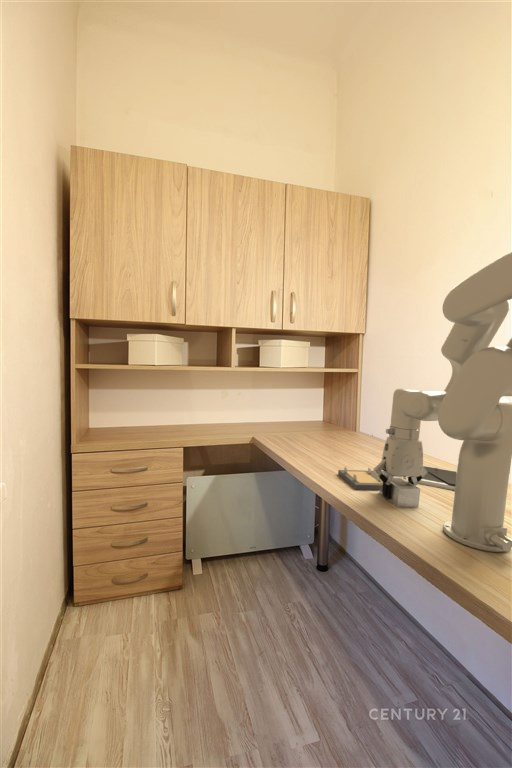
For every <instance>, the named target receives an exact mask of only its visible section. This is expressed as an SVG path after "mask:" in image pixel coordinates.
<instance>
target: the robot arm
mask: <svg viewBox="0 0 512 768" xmlns="http://www.w3.org/2000/svg"><path fill="white" fill-rule="evenodd" d="M510 300H512V251H511V252H509V253H507V254H504V255H503V256H501V257H499V258H498V259H496V260H494V261H492V262H491V263H489V264H488V265H486V266H484V267H483V268H481V269H479V270H478V271H476V272H474V273H473V274H471V275H470V276H468V277H466V278H465V279H464V280H462V281H461V282H459V283H458V284H457V285H455V286H454V287H453V288H452V289H451V290H450V291H449V293H447V295H446V297H445V298H444V300H443V303H442V314H443V316H444V318H446V320H447V321H450V322H451V323H454V324H453V325H452V328H451V329H450V331H449V332H448V333H449V334H448V335H447V337H446V338H445V341H444V342H443V345H442V346H441V349H440V352H441V354H442V356H444V358H446V359H447V360H448V361H449V362H450V365H451V369H452V370H451V371H452V372H451V377H450V379H449V381H448V383H447V385H446V386H445V388H444V390H443V391H439V390H438V391H437V390H436V391H434V390H432V391H431V390H428V391H427V390H421V391H420V390H418V389H411V388H397V389H395V390H394V392H393V396H392V403H391V405H392V407H391V417H390V425H389V428H386V429H385V433H386V434H387V435H388V436H387V437H386V440H385V443H384V446H383V449H382V457H381V461H380V462H379V463H378V464H377V465H376V466H375V467H374V468H372V469H373V470H372V471H374V472H375V473H376V474H377V475H378V477H379V478H380V479H381V480H382V482H383V489H382V493H383V495H382V496H383V498H385V497H386V498H387V500H388V499H391V490H392V485H390V483H391V481H392V479H393V477H394V476H398V477H402V478H403V477H407V481H408V482H410V483H411V484H413V485H415V486H416V487H417V486H418V485H419V484H418V482H419V481H420V480H421V479H422V477H424V476H425V475H426V474H427V471H426V469H425V468H424V467H423V465H424V448H423V442H422V440H420V432H421V421H423V422H435V421H436V422H438V425H439V427H440V429H441V431H442V433H444V434H445V435H446V436H447V437H449V438H451V439H453V440H458V441H462V444H461V446H460V450H459V453H458V454H459V455H458V459H457V461H458V462H457V466H456V467H457V468H456V471H457V476H456V485H455V491H454V494H453V495H454V497H453V506H452V514H451V519H449V520H446V521H445V522H444V523H443V525H442V529H443V531H444V533H445V534H446V535H447V536H448V537H449V538H451V539H452V540H454V541H456V542H458V543H460V544H463V545H464V546H468V547H471V548H473V549H477V550H481V551H485V552H494V553H503V552H505V553H507V552H509V551H511V549H512V538H510V537H508V536H507V533H508V527H506V526H504V522H505V514H506V513H505V512H506V503H507V497H508V489H509V479H510V473H511V466H512V465H511V464H512V402H511V400H509V399H507V398H505V397H512V336H511V338H510V339H509V340H508V342H507V343H506V345H505V346H504V347H503V346H490V344H491V343H492V341H493V339H494V338H495V336H496V335H497V332H498V331H499V329H500V327H501V326H502V324H503V322H504V321H505V320H506V317H507V315H508V313H509V311H510V307H511V306H510V305H511V303H510ZM381 471H385V473H384V475H383V473H382V472H381ZM386 498H385V499H386Z"/></svg>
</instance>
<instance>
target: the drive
mask: <svg viewBox="0 0 512 768" xmlns="http://www.w3.org/2000/svg"><path fill="white" fill-rule="evenodd" d="M390 485H392V490H391V499H387V500H388V501H389V502H390V501H391V502H390V503H391V504H393V505H394V504H395V505H396V506H395V505H394V506H395V507H397V508H419V507H420V506H419V505H420V495H421V488H419V487H418V486H417V485H416V486H415V485H413V484H411V483H410V482H408V479H406V480H405V479H403V477H398V476H394V477H393V479H392V481H391V483H390ZM382 489H383V482H382V480H381V479H380V489H379V490H378V493H379V494H380V495H381V494H382V495H381V496H383V493H382Z"/></svg>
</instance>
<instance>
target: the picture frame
mask: <svg viewBox="0 0 512 768" xmlns="http://www.w3.org/2000/svg"><path fill="white" fill-rule="evenodd" d="M423 467H424V468H425V469H426V471H427V474H426V475H425V476H424V477H422V479H421V480H420V481H419V482H418V485H425V486H428V487H434V488H440V489H444V490H450V491H454V492H455V485H456V476H457V470H454V469H453V470H452V469H447V468H443V467H437V466H430V465H424V464H423Z"/></svg>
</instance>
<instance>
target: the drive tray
mask: <svg viewBox="0 0 512 768" xmlns="http://www.w3.org/2000/svg"><path fill="white" fill-rule="evenodd" d="M343 468H344V469H338V472H337V475H338V476H339V477H340V478H342V479H343V480H344V481H345V482H346V483H347V484H348V485H350V486H351V487H352V488H353V489H355V491H379V489H380V478H379V477H378V475H377V474H376V473H375V472H374V470H372V467H370V466H369V467H367V470H362V469H361V470H357V469H356V470H355V469H354V470H353V469H352V470H351V469H348V466H344V467H343ZM381 472H382V473H383V475H384V473H385V471H383V470H382V471H381ZM402 478H403V479H405V480H408V478H407V477H402Z"/></svg>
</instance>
